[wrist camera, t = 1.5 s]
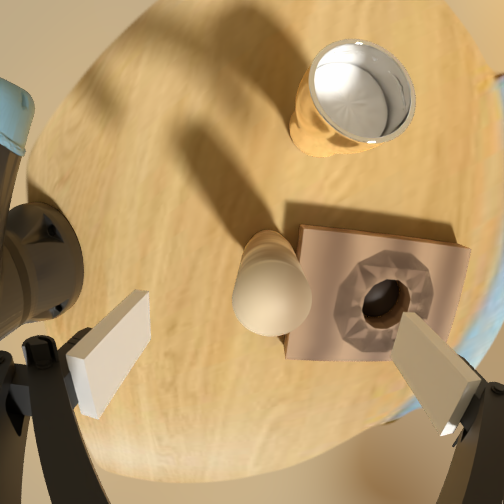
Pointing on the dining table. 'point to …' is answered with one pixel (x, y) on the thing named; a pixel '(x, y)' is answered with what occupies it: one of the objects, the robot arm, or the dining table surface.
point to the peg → (271, 286)
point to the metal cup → (351, 100)
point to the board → (372, 291)
